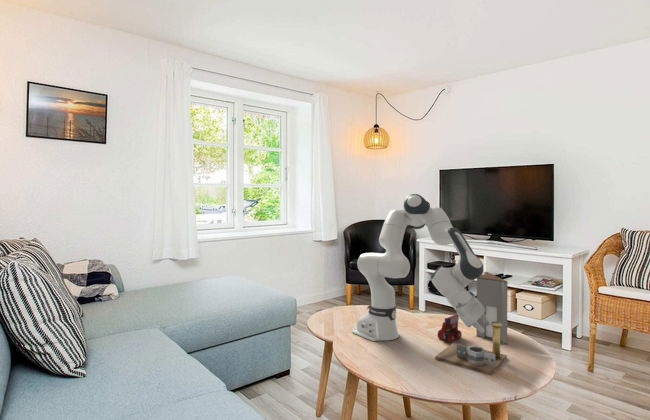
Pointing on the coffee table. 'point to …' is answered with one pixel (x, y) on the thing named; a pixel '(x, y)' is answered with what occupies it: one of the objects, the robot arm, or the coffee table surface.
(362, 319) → the robot arm
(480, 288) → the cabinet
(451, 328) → the toy fire truck
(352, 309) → the coffee table surface
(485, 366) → the walnut board
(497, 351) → the hinge pin
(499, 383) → the coffee table surface
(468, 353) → the hinge
